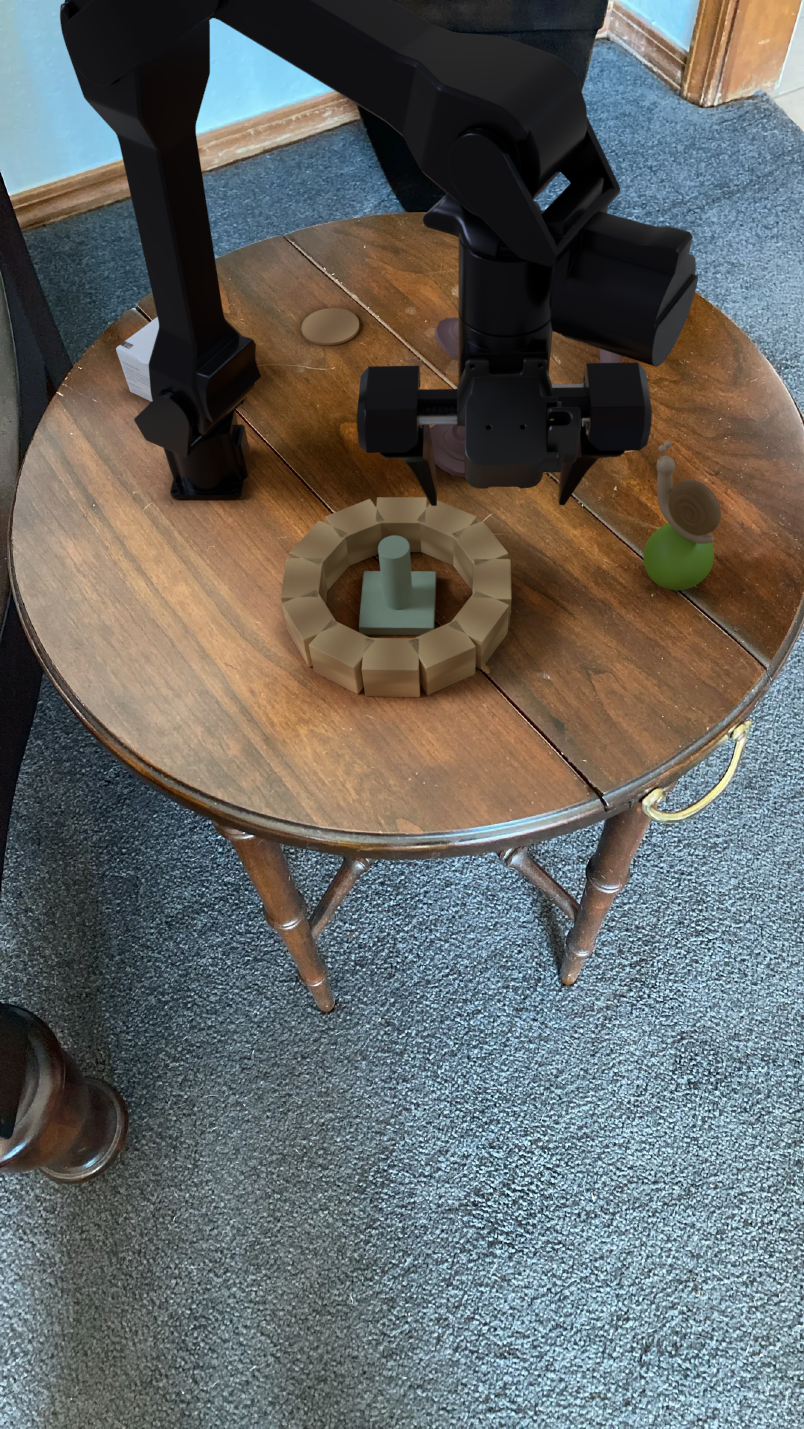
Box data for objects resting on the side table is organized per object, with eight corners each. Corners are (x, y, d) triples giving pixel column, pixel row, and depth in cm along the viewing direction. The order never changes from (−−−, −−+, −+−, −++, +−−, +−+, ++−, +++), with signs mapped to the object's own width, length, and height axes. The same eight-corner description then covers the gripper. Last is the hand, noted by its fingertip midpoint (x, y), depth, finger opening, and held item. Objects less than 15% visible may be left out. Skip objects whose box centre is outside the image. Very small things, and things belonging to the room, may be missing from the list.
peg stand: (359, 635, 78) (351, 576, 72) (364, 578, 81) (357, 518, 75) (434, 635, 77) (432, 576, 72) (436, 579, 81) (434, 518, 75)
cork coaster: (298, 345, 99) (298, 343, 99) (305, 310, 103) (304, 308, 102) (357, 345, 99) (357, 342, 99) (361, 309, 102) (361, 307, 102)
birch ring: (276, 695, 75) (269, 668, 72) (301, 526, 85) (295, 496, 82) (510, 698, 74) (512, 671, 71) (508, 526, 84) (509, 496, 81)
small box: (238, 376, 97) (228, 331, 93) (185, 420, 94) (172, 375, 89) (181, 350, 100) (169, 305, 95) (127, 392, 96) (112, 347, 92)
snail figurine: (659, 538, 82) (686, 424, 72) (720, 579, 79) (757, 467, 69) (615, 571, 80) (637, 459, 70) (676, 615, 77) (708, 504, 67)
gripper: (339, 398, 54) (362, 585, 67) (682, 393, 53) (637, 585, 66) (353, 280, 60) (372, 473, 73) (660, 274, 59) (623, 471, 72)
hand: (497, 501), depth 71 cm, fingers open, 9 cm apart
